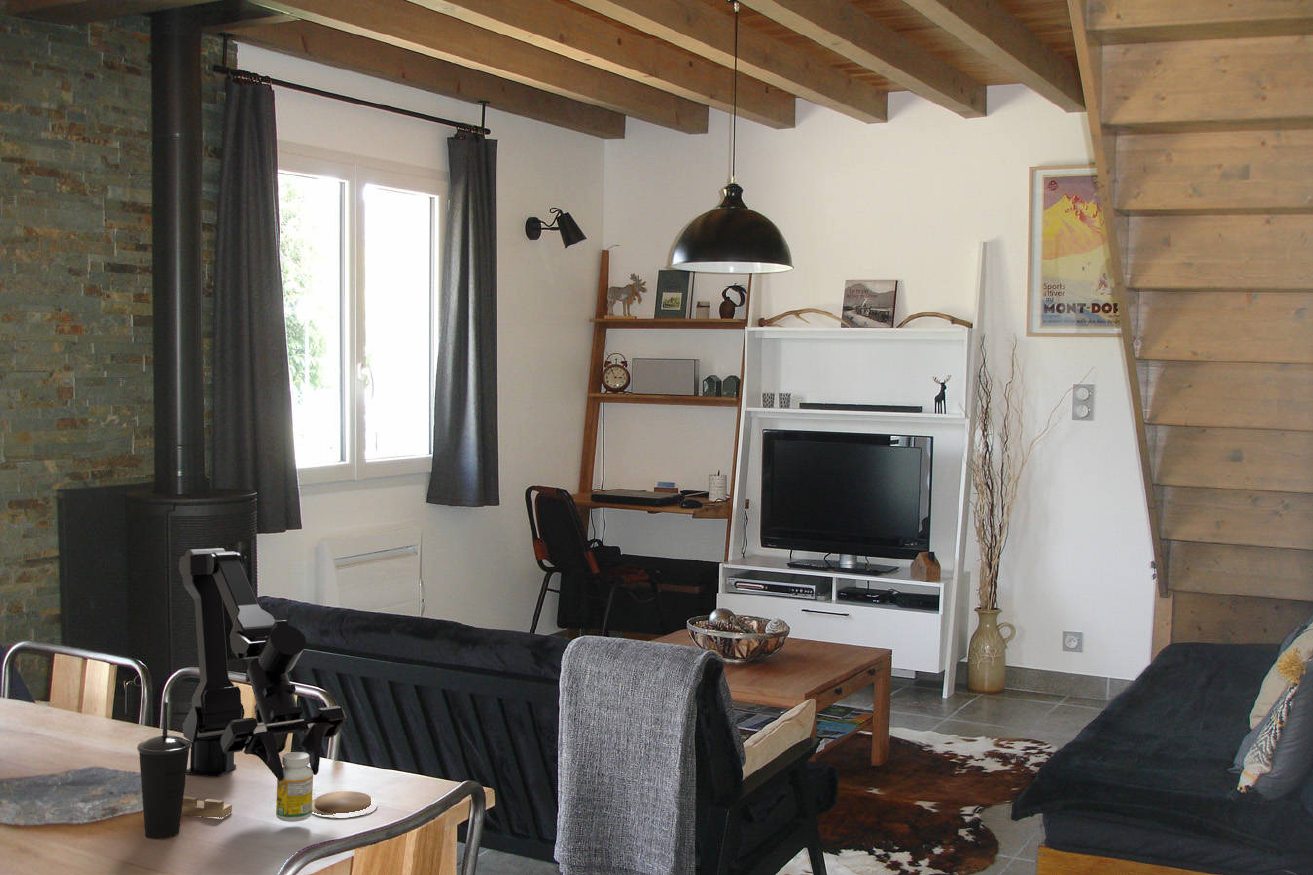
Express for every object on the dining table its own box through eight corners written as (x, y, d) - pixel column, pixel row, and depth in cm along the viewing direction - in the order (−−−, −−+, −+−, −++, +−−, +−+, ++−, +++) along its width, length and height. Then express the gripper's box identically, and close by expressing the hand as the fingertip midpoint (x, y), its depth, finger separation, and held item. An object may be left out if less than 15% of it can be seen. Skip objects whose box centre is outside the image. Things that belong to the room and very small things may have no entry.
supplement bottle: (312, 821, 191) (314, 759, 191) (275, 823, 190) (278, 761, 189) (311, 809, 196) (313, 749, 196) (275, 811, 195) (278, 750, 194)
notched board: (175, 814, 197) (176, 797, 197) (186, 808, 200) (187, 791, 200) (221, 819, 195) (222, 802, 195) (231, 813, 198) (232, 796, 198)
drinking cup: (172, 821, 193) (176, 694, 193) (198, 833, 189) (202, 703, 188) (125, 833, 188) (128, 702, 187) (151, 846, 183) (154, 711, 182)
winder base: (295, 814, 199) (295, 806, 199) (327, 793, 210) (327, 786, 210) (359, 821, 197) (359, 814, 197) (388, 800, 208) (388, 793, 208)
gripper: (310, 709, 210) (337, 792, 202) (200, 724, 198) (224, 813, 190) (333, 673, 204) (361, 757, 196) (220, 686, 192) (246, 776, 184)
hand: (299, 776), depth 192 cm, fingers closed on supplement bottle, 5 cm apart
